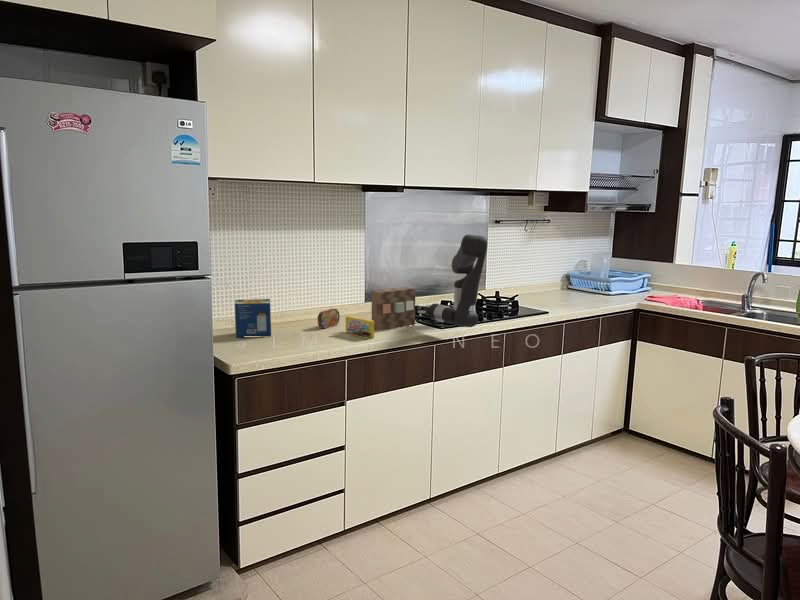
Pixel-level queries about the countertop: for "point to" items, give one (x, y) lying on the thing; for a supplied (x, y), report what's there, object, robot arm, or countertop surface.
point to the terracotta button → (386, 308)
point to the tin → (328, 318)
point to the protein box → (253, 317)
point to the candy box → (360, 327)
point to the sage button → (398, 307)
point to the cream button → (409, 305)
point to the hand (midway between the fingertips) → (416, 307)
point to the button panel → (392, 308)
